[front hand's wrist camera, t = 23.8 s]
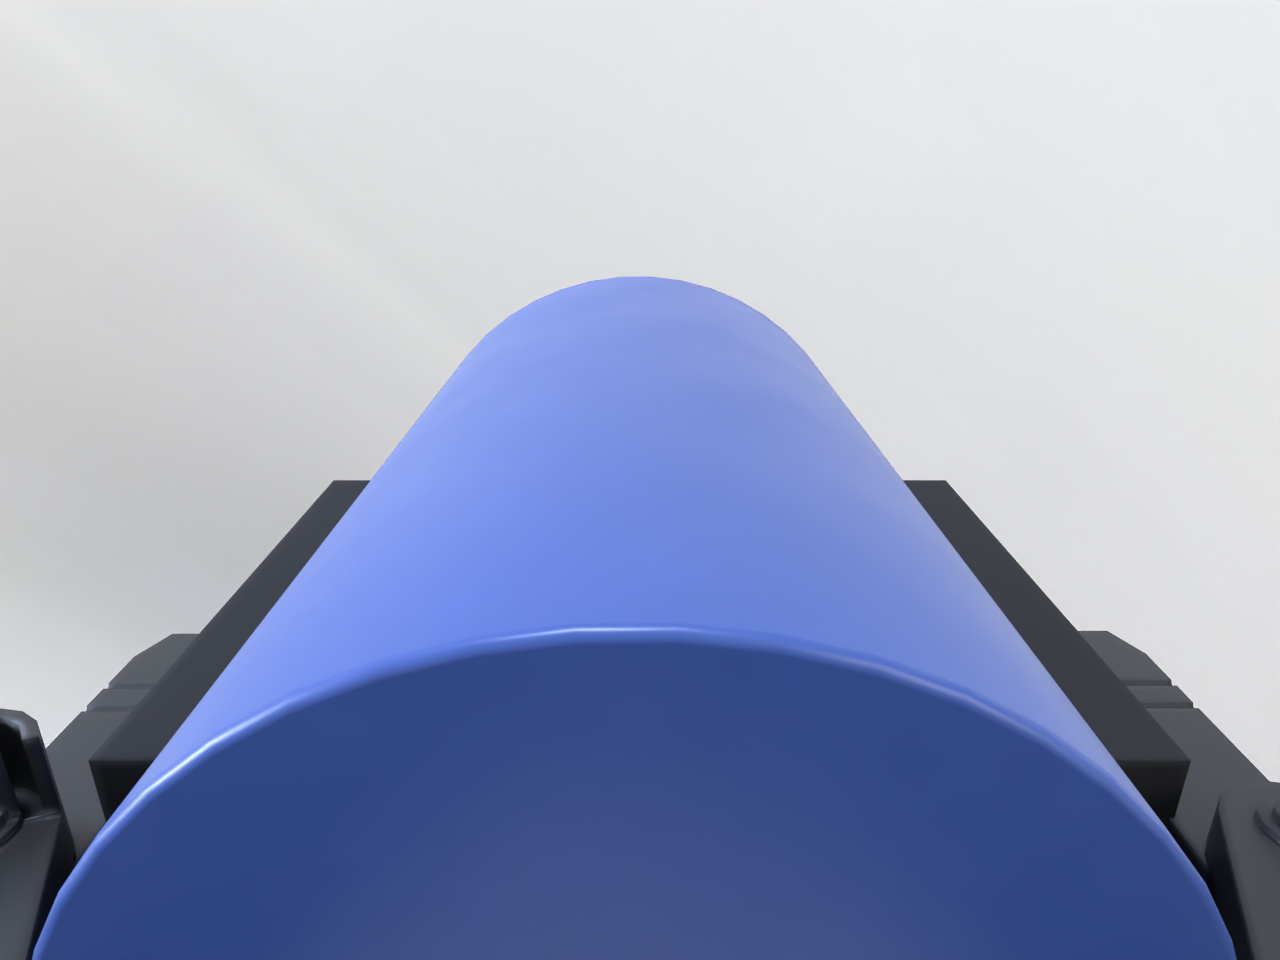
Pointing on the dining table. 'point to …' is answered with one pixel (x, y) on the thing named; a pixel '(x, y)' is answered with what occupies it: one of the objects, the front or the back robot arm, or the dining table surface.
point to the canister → (635, 700)
